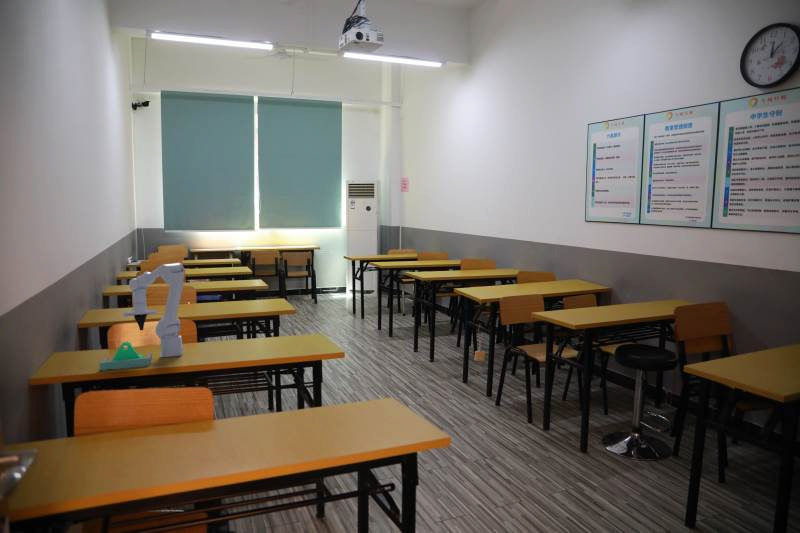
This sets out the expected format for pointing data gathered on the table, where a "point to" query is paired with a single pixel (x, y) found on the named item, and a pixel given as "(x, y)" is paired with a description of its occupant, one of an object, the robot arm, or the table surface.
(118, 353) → the camera mount
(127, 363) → the dock
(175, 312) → the robot arm
